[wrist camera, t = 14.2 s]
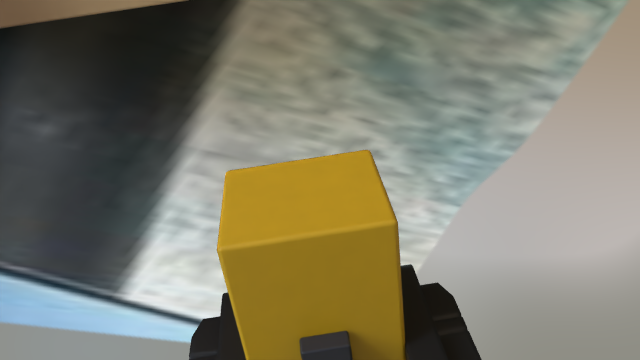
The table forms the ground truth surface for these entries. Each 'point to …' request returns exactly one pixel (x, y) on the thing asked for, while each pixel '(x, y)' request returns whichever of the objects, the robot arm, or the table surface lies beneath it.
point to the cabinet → (63, 9)
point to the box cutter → (313, 260)
